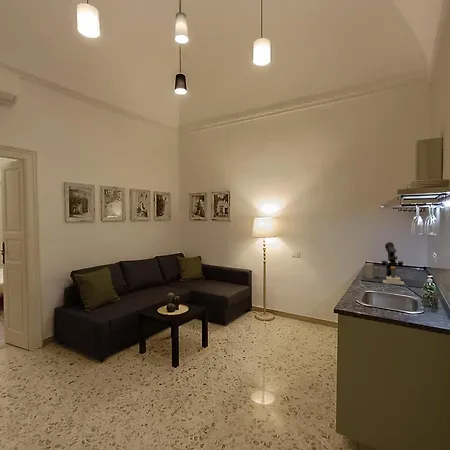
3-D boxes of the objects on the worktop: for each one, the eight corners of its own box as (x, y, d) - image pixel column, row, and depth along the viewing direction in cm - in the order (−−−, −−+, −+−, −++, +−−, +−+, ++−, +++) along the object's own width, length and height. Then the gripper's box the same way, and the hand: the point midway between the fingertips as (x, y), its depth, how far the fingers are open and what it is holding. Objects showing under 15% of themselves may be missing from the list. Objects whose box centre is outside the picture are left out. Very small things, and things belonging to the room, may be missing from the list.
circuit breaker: (380, 278, 308) (380, 264, 308) (366, 278, 311) (366, 264, 310) (378, 276, 316) (378, 263, 315) (364, 276, 319) (364, 263, 318)
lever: (390, 276, 291) (390, 267, 295) (395, 277, 289) (394, 267, 293) (391, 276, 289) (390, 266, 293) (395, 276, 288) (395, 266, 292)
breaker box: (382, 281, 298) (382, 274, 297) (403, 282, 290) (403, 275, 290) (383, 283, 289) (383, 276, 288) (404, 285, 281) (404, 277, 281)
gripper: (382, 252, 302) (382, 265, 293) (402, 253, 294) (404, 266, 285) (381, 259, 309) (382, 271, 300) (401, 259, 301) (403, 272, 292)
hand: (392, 270), depth 294 cm, fingers closed
